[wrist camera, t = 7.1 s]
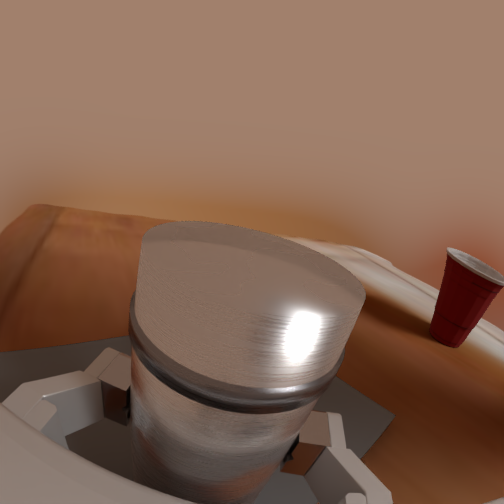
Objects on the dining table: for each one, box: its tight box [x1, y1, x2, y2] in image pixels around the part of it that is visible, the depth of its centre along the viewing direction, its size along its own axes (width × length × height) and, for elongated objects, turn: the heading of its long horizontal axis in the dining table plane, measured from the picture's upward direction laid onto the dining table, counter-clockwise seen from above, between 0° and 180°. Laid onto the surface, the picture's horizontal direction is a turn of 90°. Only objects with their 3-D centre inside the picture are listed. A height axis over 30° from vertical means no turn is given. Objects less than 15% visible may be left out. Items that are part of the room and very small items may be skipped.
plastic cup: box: [429, 248, 504, 347], centre depth 34 cm, size 11×11×12 cm
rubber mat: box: [0, 335, 396, 504], centre depth 16 cm, size 23×17×1 cm
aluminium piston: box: [128, 221, 366, 504], centre depth 8 cm, size 5×5×12 cm
